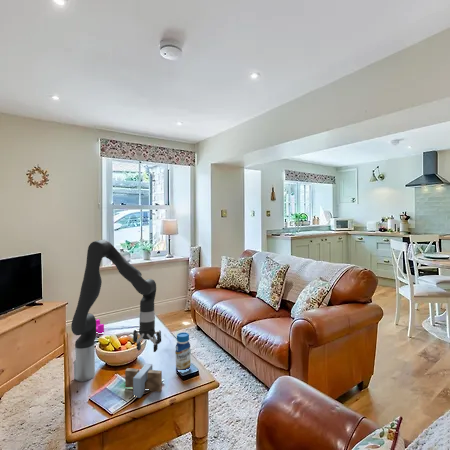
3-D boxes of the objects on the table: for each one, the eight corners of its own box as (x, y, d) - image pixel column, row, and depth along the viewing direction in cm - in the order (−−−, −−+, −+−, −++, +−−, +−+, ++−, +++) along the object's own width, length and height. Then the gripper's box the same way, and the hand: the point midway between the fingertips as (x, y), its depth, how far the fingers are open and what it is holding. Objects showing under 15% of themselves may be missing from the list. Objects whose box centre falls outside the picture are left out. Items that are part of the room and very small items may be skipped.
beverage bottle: (190, 365, 164) (190, 331, 164) (191, 373, 156) (190, 336, 156) (175, 367, 163) (175, 332, 163) (175, 374, 155) (174, 337, 155)
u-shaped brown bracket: (125, 388, 142) (125, 370, 142) (127, 385, 145) (127, 368, 145) (159, 391, 139) (159, 373, 139) (161, 388, 142) (161, 370, 142)
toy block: (90, 330, 220) (90, 320, 220) (99, 328, 224) (99, 319, 224) (95, 336, 208) (94, 326, 208) (104, 334, 212) (103, 324, 212)
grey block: (133, 397, 136) (133, 378, 135) (146, 380, 149) (146, 363, 149) (140, 397, 135) (140, 378, 135) (152, 381, 149) (152, 364, 149)
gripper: (130, 320, 144) (130, 352, 144) (157, 322, 141) (157, 355, 142) (137, 315, 151) (137, 346, 151) (163, 317, 149) (163, 348, 149)
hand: (147, 350), depth 147 cm, fingers open, 8 cm apart
